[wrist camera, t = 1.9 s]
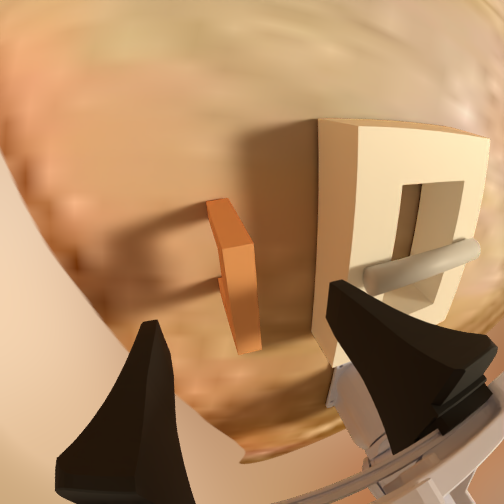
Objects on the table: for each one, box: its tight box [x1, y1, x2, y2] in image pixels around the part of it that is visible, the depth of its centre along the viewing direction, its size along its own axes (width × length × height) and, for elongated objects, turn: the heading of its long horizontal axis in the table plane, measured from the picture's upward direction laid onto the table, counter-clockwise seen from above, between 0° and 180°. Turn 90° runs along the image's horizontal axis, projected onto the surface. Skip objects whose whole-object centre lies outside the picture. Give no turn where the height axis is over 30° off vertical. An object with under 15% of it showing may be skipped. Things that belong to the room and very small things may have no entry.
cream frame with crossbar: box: [311, 118, 490, 368], centre depth 17 cm, size 16×12×6 cm
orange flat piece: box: [206, 198, 262, 355], centre depth 15 cm, size 6×1×6 cm, turn 4°
